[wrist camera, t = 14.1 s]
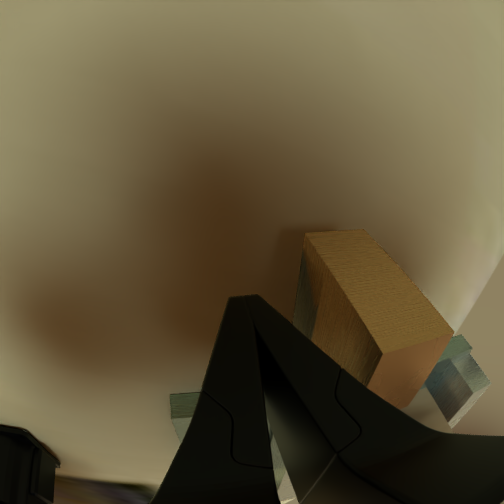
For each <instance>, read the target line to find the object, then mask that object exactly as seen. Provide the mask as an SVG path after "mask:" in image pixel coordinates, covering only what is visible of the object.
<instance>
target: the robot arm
mask: <svg viewBox="0 0 504 504" xmlns="http://www.w3.org/2000/svg"><path fill="white" fill-rule="evenodd" d="M267 418H268V421H269V424H270V427H271V429H272V432H273V435H274V438H275V441H276V443H277V446H278V449H279V452H280V454H281V457H282V460H283V462H284V465H285V468H286V471H287V473H288V476H289V479H290V481H291V484H292V487H293V489H294V492H295V494H296V497H297V500H298V502H299V504H504V436H486V435H485V436H484V435H468V434H467V435H466V434H455V433H445V432H441V431H437V430H434V429H432V428H429V427H427V426H425V425H424V424H422V423H420V422H418V421H417V420H415V419H414V418H412V417H410V416H409V415H407V414H406V413H404V412H403V411H401V410H399V409H398V408H396V407H395V406H393V405H392V404H390V403H389V402H387V401H386V400H384V399H383V398H381V397H380V396H378V395H377V394H375V393H374V392H373V391H371V390H370V389H368V388H367V387H366V386H364V385H363V384H362V383H361V382H359V381H358V380H357V379H356V378H354V377H353V376H352V375H351V374H349V373H348V372H347V371H346V370H345V369H344V368H342V369H341V366H340V365H339V364H338V363H336V362H335V361H334V360H333V359H332V358H331V357H329V356H328V355H327V354H326V353H325V352H324V351H322V350H321V349H320V348H319V347H318V346H317V345H315V344H314V343H313V342H312V341H311V340H310V339H308V338H307V337H306V336H305V335H304V334H303V333H302V332H300V331H299V330H298V329H297V328H296V327H295V326H294V325H292V324H291V323H290V322H289V321H288V320H287V319H286V318H284V317H283V316H282V315H281V314H280V313H279V312H278V311H276V310H275V309H274V308H273V307H272V306H271V305H270V304H269V303H267V302H266V301H265V300H264V299H263V298H262V297H261V296H260V295H258V294H253V295H245V296H234V297H229V299H228V301H227V304H226V308H225V311H224V314H223V318H222V321H221V324H220V328H219V331H218V334H217V338H216V341H215V344H214V348H213V351H212V355H211V358H210V361H209V365H208V368H207V371H206V375H205V378H204V381H203V385H202V388H201V392H200V394H199V398H198V401H197V404H196V407H195V410H194V413H193V416H192V419H191V422H190V424H189V427H188V429H187V431H186V434H185V436H184V438H183V441H182V443H181V445H180V447H179V449H178V451H177V453H176V455H175V457H174V459H173V461H172V463H171V465H170V467H169V470H168V472H167V474H166V476H165V478H164V480H163V482H162V484H161V485H160V487H159V489H158V491H157V492H156V494H155V496H154V497H153V499H152V500H151V501H150V503H149V504H281V503H280V499H279V496H278V492H277V487H276V481H275V475H274V470H273V460H272V452H271V445H270V437H269V430H268V422H267ZM55 468H60V462H59V461H57V460H56V459H55V458H54V457H53V456H52V455H51V454H50V453H48V452H47V451H46V450H45V449H44V448H43V447H42V446H41V445H40V444H39V443H38V442H37V441H36V440H35V439H34V438H33V437H32V436H31V435H30V434H29V433H27V432H26V431H23V430H20V429H14V428H8V427H2V426H0V504H52V503H53V498H54V481H55Z"/></svg>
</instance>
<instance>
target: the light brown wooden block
mask: <svg viewBox="0 0 504 504" xmlns="http://www.w3.org/2000/svg"><path fill="white" fill-rule="evenodd" d="M292 325H294V326H295V327H296V328H297V329H298V330H299V331H300V332H302V333H303V334H304V335H305V336H306V337H307V338H308V339H310V340H311V341H312V342H313V343H314V344H315V345H317V346H318V347H319V348H320V349H321V350H322V351H324V352H325V353H326V354H327V355H328V356H329V357H331V358H332V359H333V360H334V361H335V362H336V363H338V364H339V365H340V366H341V369H342V368H344V369H345V370H346V371H347V372H348V373H349V374H351V375H352V376H353V377H354V378H356V379H357V380H358V381H359V382H361V383H362V384H363V385H364V386H366V387H367V388H368V389H370V390H371V391H373V392H374V393H375V394H377V395H378V396H380V397H381V398H383V399H384V400H386V401H387V402H389V403H390V404H392V405H393V406H395V407H396V408H398V409H402V408H404V407H407V406H408V405H409V404H410V402H411V401H412V400H413V398H414V397H415V395H416V394H417V392H418V391H419V389H420V388H421V387H422V385H423V384H424V382H425V380H426V379H427V377H428V376H429V374H430V373H431V371H432V370H433V368H434V366H435V365H436V363H437V361H438V360H439V358H440V357H441V355H442V353H443V351H444V350H445V348H446V346H447V345H448V343H449V341H450V339H451V337H452V336H453V334H454V331H453V329H452V328H451V327H450V326H449V325H448V323H447V322H446V321H445V320H444V318H443V317H442V316H441V315H440V314H439V312H438V311H437V310H436V309H435V308H434V306H433V305H432V304H431V303H430V302H429V300H428V299H427V298H426V297H425V296H424V295H423V293H422V292H421V291H420V290H419V289H418V288H417V287H416V285H415V284H414V283H413V282H412V281H411V280H410V279H409V277H408V276H407V275H406V274H405V273H404V272H403V271H402V270H401V269H400V267H399V266H398V265H397V264H396V263H395V262H394V261H393V260H392V259H391V258H390V257H389V255H388V254H387V253H386V252H385V251H384V250H383V249H382V248H381V247H380V246H379V245H378V244H377V243H376V242H375V241H374V240H373V239H372V238H371V236H370V235H369V234H368V233H367V232H366V231H365V230H364V229H358V230H342V231H327V232H311V233H305V235H304V243H303V251H302V259H301V266H300V274H299V281H298V288H297V295H296V302H295V309H294V316H293V322H292ZM271 452H272V460H273V470H274V475H275V481H276V487H277V492H278V496H279V499H280V501H284V500H289V499H293V498H297V497H296V494H295V492H294V489H293V487H292V484H291V481H290V479H289V476H288V473H287V471H286V468H285V465H284V462H283V460H282V457H281V454H280V452H279V449H278V446H277V443H276V441H275V438H274V435H273V436H272V441H271Z"/></svg>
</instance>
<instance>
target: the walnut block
mask: <svg viewBox="0 0 504 504" xmlns="http://www.w3.org/2000/svg"><path fill="white" fill-rule="evenodd" d="M399 410H401V411H403V412H404V413H406V414H407V415H409V416H410V417H412V418H414V419H415V420H417V421H418V422H420V423H422V424H424V425H425V426H427V427H429V428H432V429H434V430H437V431H441V432H445V433H453V431H452V429H451V427H450V426H449V424H448V422H447V420H446V419H445V417H444V415H443V414H442V412H441V410H440V409H439V407H438V405H437V404H436V402H435V400H434V399H433V397H432V395H431V394H430V392H429V391H428V389H427V387H426V388H424V389H421V390H419V391H418V392H417V394H416V395H415V397H414V398H413V400H412V401H411V402H410V404H409V405H408V406H407V407H404V408H402V409H399Z"/></svg>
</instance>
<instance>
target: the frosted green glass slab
mask: <svg viewBox="0 0 504 504" xmlns="http://www.w3.org/2000/svg"><path fill="white" fill-rule="evenodd" d="M471 350H472V347H471V346H470V345H469V343H468V342H467V341H466V339H465V338H464V337H463V336H462V335H458V336H455V337H452V338H451V339H450V341H449V343H448V345H447V346H446V348H445V350H444V351H443V353H442V355H441V357H440V358H439V360H438V361H437V363H436V365H435V366H434V368H433V370H432V371H431V373H430V374H429V376H428V377H427V379H426V380H425V382H424V384H423V385H422V387H421V388H420V389H419V390H421V389H424V388H426V387H427V389H428V391H429V392H430V394H431V395H432V397H433V399H434V400H435V402H436V404H437V405H438V407H439V409H440V410H441V412H442V414H443V415H444V417H445V419H446V420H447V422H448V424H449V426H450V427H451V429H452V428H453V427H454V426H455V425H456V424H457V422H459V420H460V419H461V418H462V417H463V416H464V415H465V414H466V413H467V412H468V411H469V409H470V408H471V407H472V406H473V405H474V404H475V403H476V401H477V400H478V399H479V398H480V397H481V395H482V394H483V393H484V392H485V391H486V389H487V388H488V387H489V385H490V384H491V382H490V380H489V379H488V378H487V376H486V375H485V374H484V372H483V371H482V369H481V368H480V367H479V366H478V364H477V363H476V361H475V360H474V359H473V357H472V356H471V355H470V352H471ZM199 394H200V392H199V393H188V394H175V395H170V406H171V420H172V422H173V425H174V427H175V430H176V433H177V435H178V438H179V440H180V443H182V441H183V438H184V436H185V434H186V431H187V429H188V427H189V424H190V422H191V419H192V416H193V413H194V410H195V407H196V404H197V401H198V398H199ZM267 422H268V430H269V437H270V445H271V441H272V436H273V432H272V429H271V427H270V424H269V421H268V418H267Z"/></svg>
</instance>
